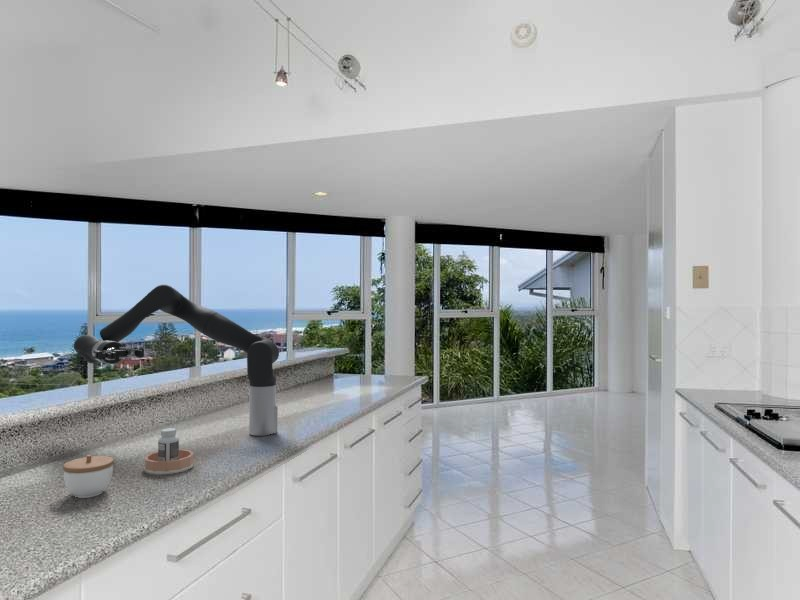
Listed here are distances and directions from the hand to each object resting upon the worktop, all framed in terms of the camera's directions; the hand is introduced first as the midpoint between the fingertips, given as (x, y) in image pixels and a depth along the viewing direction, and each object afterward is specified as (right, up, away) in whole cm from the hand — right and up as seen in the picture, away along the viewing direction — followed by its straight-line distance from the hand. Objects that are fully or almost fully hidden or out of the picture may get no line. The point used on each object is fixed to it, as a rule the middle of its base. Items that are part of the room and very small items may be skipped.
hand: (128, 355), depth 172 cm
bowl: (+21, -30, -20) cm, 42 cm away
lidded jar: (+11, -30, -41) cm, 52 cm away
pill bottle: (+21, -29, -20) cm, 41 cm away
